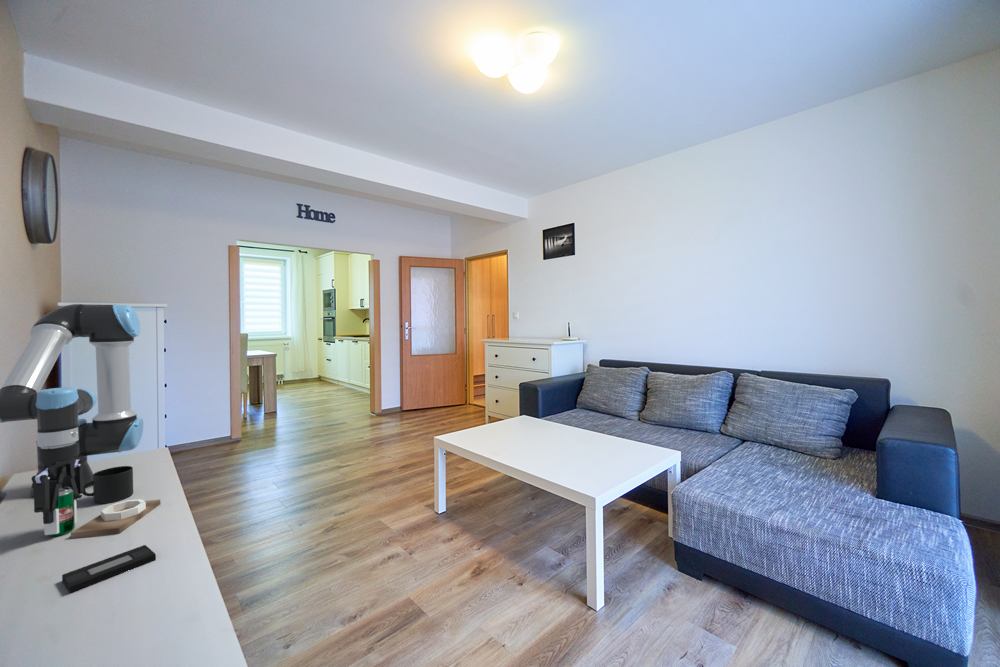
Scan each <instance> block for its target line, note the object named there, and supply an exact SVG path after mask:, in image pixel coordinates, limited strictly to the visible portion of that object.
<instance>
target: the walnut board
mask: <svg viewBox="0 0 1000 667" xmlns="http://www.w3.org/2000/svg"><path fill="white" fill-rule="evenodd" d="M144 501H145V502H146V509H144V510H143V511H142V512H140V513H139V514H137V515H134V516H130V517H127V518H124V519H120V520H111V521H104V520H103V519H102V518H101V514H99V515H98V516H96V517H95V518H92V519H91V520H90V521H88V522H87V523H85V524H83V525H81V526H80V527H78V528H76V529H74V530H72V531H71V532H70V538H71V539H76V538H77V539H78V538H87V537H98V536H106V535H107V536H108V535H116V534H117V535H119V534H121V533H122V532H123V531H125V530H127V529H128V528H129V527H131V526H133V524H135V523H136V522H138V521H139V520H140V519H141V518H143V517H145V516H146V515H147V514H148V513H150V512H152V511H154V510H155V509H156V508H157V507H159V506H160V505H161V499H151V500H149V499H148V500H144ZM133 508H134V507H133ZM127 509H130V508H125V509H122V510H118V511H124V510H127ZM118 511H115V512H118Z"/></svg>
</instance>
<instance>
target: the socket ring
mask: <svg viewBox="0 0 1000 667" xmlns="http://www.w3.org/2000/svg"><path fill="white" fill-rule="evenodd" d="M145 501H146V500H143V499H142V498H138V499H128V500H127V499H125V500H122V501H118V502H117V503H113V504H110V505H108V506H106V507H104V508H103V509H102V510H101V511H100V515H101V518H102V519H103V520H104V521H111V520H120V519H124V518H127V517H130V516H134V515H137V514H139V513H140V512H142V511H143V510H144V509H146V502H145ZM133 507H134V508H133ZM125 508H130V509H127V510H124V511H118V510H122V509H125ZM115 511H118V512H115Z"/></svg>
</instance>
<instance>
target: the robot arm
mask: <svg viewBox="0 0 1000 667" xmlns="http://www.w3.org/2000/svg"><path fill="white" fill-rule="evenodd" d="M33 324H34V325H33V326H32V327H31V329H30V332H29V335H30V337H31V338H30V339H29V341H28V343H27V345H26V346H25V348H24V349H23V351H22V353H21V354H20V356H19V358H18V359H17V361H16V362H15V364H14V366H13V367H12V370H11V371H10V373H9V374H8V376H7V377H6V379H5V380H4V382H3V384H2V386H1V387H0V423H8V422H19V421H29V420H30V421H31V420H36V423H37V424H36V425H37V435H36V436H37V437H36V442H35V443H36V452H37V453H36V457H37V460H36V461H37V472H36V475H33V476H32V477H31V482H32V484H31V487H30V496H31V497H33V511H34V513H42V519H43V521H42V522H43V528H44V536H49V535H51V534H58V533H59V509H55V508H56V503H57V498H58V492H59V488H61V487H72V490H74V514H75V524H76V523H78V512H77V511H78V510H77V509H78V500H79V499H82V497H83V494H82V493H83V492H84V485H85V484H87V483H89V482H91V481H93V474H94V472H93V470H92V468H91V467H90V465H89V462H88V456H95V455H105V454H111V453H123V452H128V451H129V452H130V451H132V450H135V449H136V448H137V447H139V446H138V445H139V444H140V441H141V440H142V436H143V431H144V419H143V418H142V417H137V416H138V415H137V412H136V411H134V410H133V409H132V408H131V407H132V406H131V379H130V376H131V375H130V352H129V351H130V348H129V347H130V345H131V344H132V343H134V341H135V338H136V337H139V336H140V334H141V324H140V318H139V316H138V314H137V312H136V310H135V309H134V308H133V307H132V306H130V305H127V304H125V305H124V304H88V303H87V304H82V303H75V304H74V303H73V304H69V305H63V306H61V307H58V308H56V309H53V310H52V311H50V312H48V313H46V314H45V315H43V316H42V317H41V318H39V319H38V320H37V321H36V322H35V323H33ZM74 338H89V340H88V342H89V344H91V345H92V346H93V347H95V362H96V363H95V364H96V365H95V366H96V387H97V388H96V389H97V391H96V392H97V396H96V394H95V393H94V392H92V391H91V390H89V389H86V388H75V387H71V386H68V387H67V386H65V387H53V388H47V389H46V388H45V389H42V388H43V387H44V385H45V382H46V380H47V379H48V377H49V375H50V373H51V371H52V370H53V367H54V366H55V363H56V362H57V360H58V358H59V356H60V354H61V352H62V350H63V348H64V346H65V345H68V344H69V343H71V342H72V340H74ZM96 404H97V410H98V411H97V414H95V415H94V416H93V417H92V419H91V420H92V421H91V422H88V420H87V419H86V418H79V416H81V415H85V414H86V413H88V412H89V411H91V410H92V409H93V408H94V407H95V406H96ZM90 486H91V485H89V486H87V487H86V488H88V487H90Z"/></svg>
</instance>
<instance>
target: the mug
mask: <svg viewBox="0 0 1000 667" xmlns="http://www.w3.org/2000/svg"><path fill="white" fill-rule="evenodd" d="M89 485H90V486H92V490H93V492H86V488H88V487H90V486H89ZM87 486H88V487H87ZM133 494H134V467H133V466H131V465H130V466H129V465H124V466H114V467H109V468H105V469H102V470H99V471H96V472H95V473H94V472H93V481H91V482H89V483H87V484H85V485H84V492H83V493H82V494H81V495H82V496H84V497H93V503H94V504H96V505H101V504H102V505H104V504H105V505H106V504H111V503H115V502H117V503H118V502H121V501H124V500H127V499H128V498H130V497H131V496H132V495H133Z"/></svg>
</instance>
